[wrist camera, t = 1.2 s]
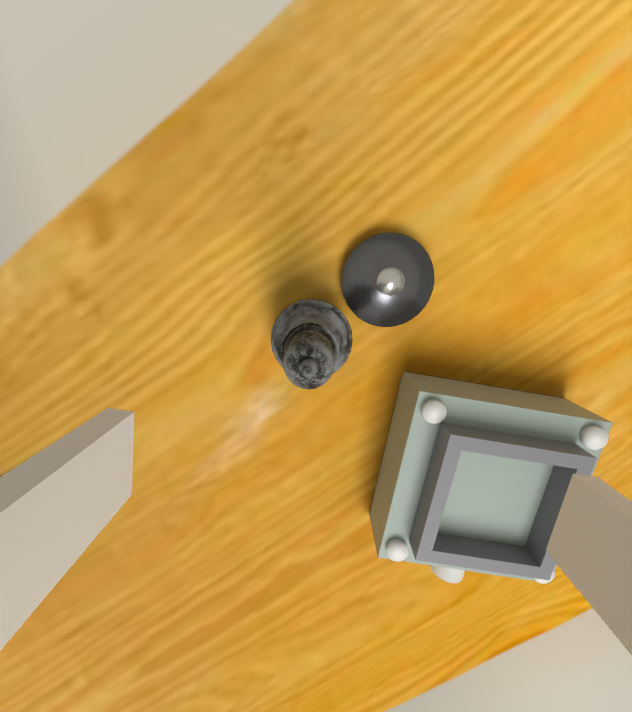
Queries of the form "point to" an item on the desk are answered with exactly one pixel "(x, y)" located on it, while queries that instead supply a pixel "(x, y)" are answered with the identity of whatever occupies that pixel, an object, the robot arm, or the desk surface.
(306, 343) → the dark metal chess piece
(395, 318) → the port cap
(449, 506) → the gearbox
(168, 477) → the desk surface
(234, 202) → the desk surface
